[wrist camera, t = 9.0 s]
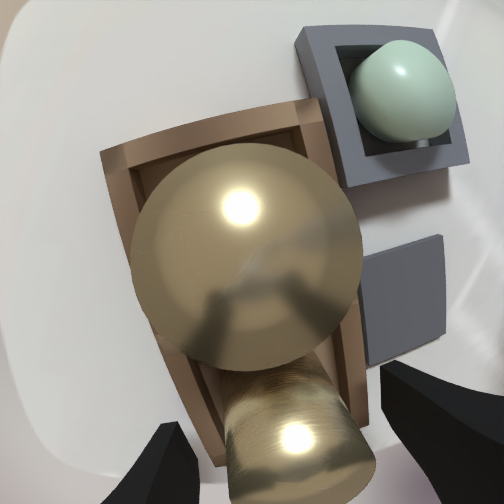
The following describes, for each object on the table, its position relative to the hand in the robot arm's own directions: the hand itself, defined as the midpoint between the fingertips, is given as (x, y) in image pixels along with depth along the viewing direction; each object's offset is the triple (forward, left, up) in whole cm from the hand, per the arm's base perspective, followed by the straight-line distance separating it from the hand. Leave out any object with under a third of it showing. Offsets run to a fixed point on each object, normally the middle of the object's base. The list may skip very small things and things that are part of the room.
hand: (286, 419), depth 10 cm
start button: (-7, -10, -3) cm, 12 cm away
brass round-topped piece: (0, -6, -3) cm, 7 cm away
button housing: (-7, -10, -4) cm, 12 cm away
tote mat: (-6, -1, -4) cm, 8 cm away
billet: (0, 0, -3) cm, 3 cm away
